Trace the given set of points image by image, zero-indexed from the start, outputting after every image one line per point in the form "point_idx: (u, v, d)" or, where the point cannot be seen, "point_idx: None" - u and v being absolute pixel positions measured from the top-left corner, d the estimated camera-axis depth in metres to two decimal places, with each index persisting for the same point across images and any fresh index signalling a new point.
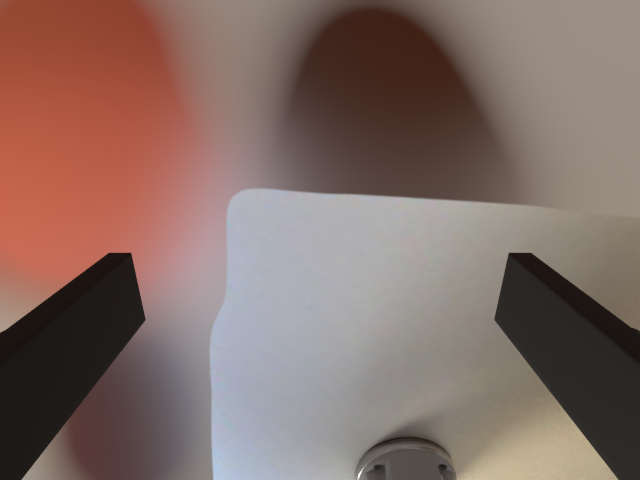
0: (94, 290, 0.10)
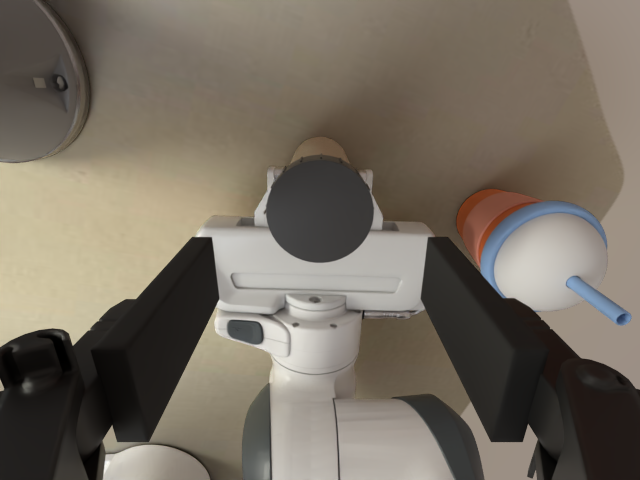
0: (193, 267, 0.12)
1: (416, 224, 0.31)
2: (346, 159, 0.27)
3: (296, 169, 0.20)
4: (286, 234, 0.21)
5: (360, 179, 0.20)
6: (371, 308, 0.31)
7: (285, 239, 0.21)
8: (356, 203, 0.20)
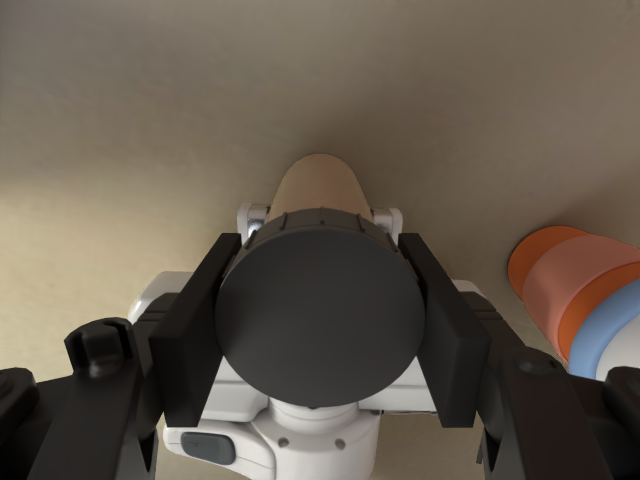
0: (228, 261, 0.12)
1: (462, 286, 0.21)
2: (361, 196, 0.17)
3: (271, 247, 0.09)
4: (255, 362, 0.11)
5: (402, 266, 0.10)
6: (395, 408, 0.21)
7: (253, 370, 0.11)
8: (392, 309, 0.10)
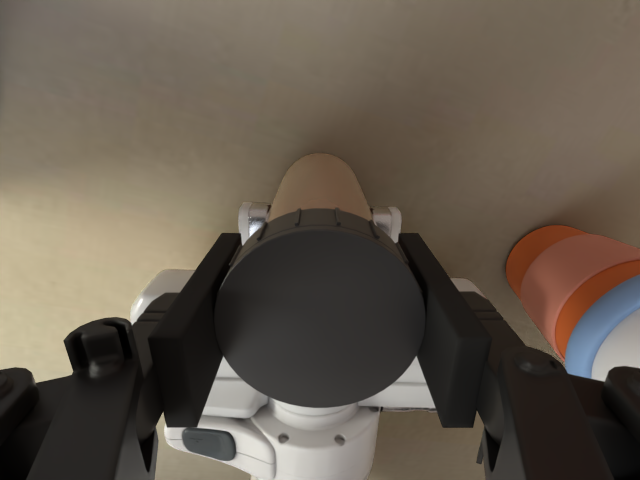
0: (228, 262, 0.12)
1: (461, 285, 0.21)
2: (361, 195, 0.17)
3: (225, 347, 0.11)
4: (343, 387, 0.11)
5: (265, 244, 0.09)
6: (394, 405, 0.22)
7: (352, 390, 0.11)
8: (314, 261, 0.10)
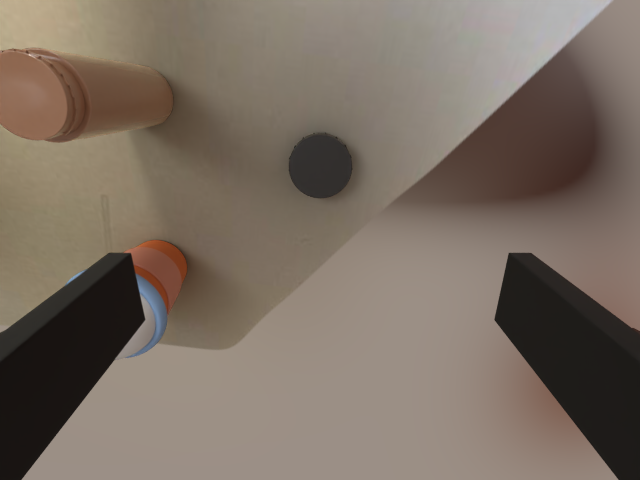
0: (95, 290, 0.10)
1: None
2: (132, 118, 0.28)
3: (292, 174, 0.35)
4: (327, 189, 0.36)
5: (305, 139, 0.34)
6: None
7: (330, 190, 0.36)
8: (318, 145, 0.34)
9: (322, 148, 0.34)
